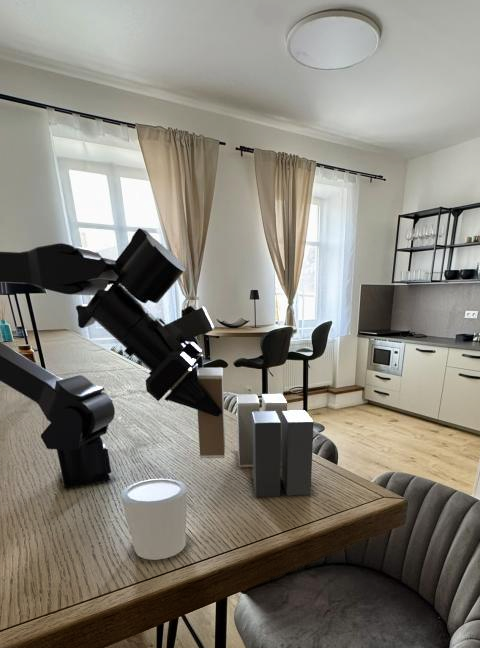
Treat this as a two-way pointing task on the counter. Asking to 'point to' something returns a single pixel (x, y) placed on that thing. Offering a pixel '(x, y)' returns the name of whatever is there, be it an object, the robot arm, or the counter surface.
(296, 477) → the grey book
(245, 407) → the grey tall rectangular block
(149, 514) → the white cup
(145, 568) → the counter surface
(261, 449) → the tall grey rectangular block
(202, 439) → the tall cream square pillar
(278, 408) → the white book
